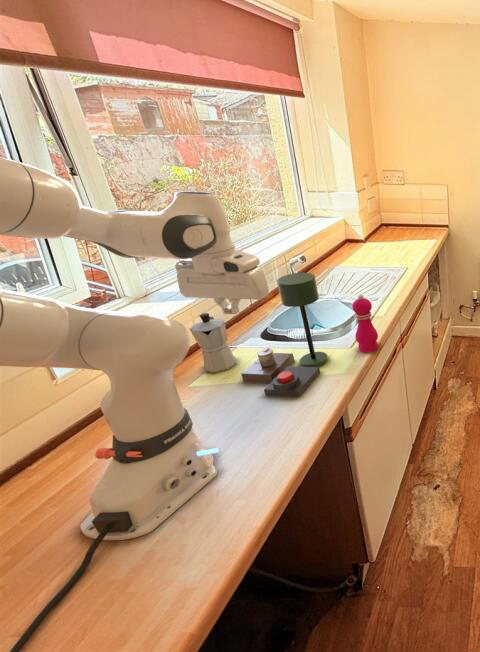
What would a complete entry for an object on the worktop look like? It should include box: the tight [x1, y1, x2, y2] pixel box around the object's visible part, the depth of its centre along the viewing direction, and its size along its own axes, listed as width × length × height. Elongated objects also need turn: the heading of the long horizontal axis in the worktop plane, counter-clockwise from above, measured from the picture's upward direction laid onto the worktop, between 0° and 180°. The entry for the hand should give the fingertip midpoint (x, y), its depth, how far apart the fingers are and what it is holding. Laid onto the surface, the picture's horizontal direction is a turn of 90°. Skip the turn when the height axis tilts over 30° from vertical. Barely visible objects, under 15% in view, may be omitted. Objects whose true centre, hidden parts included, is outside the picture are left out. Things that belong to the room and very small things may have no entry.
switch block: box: [263, 365, 321, 398], centre depth 117 cm, size 12×10×4 cm
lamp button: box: [278, 371, 293, 383], centre depth 113 cm, size 4×4×2 cm
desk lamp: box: [276, 272, 329, 368], centre depth 123 cm, size 10×10×29 cm
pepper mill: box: [351, 294, 379, 354], centre depth 134 cm, size 7×7×20 cm
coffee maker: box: [189, 312, 237, 374], centre depth 124 cm, size 15×9×18 cm, turn 34°
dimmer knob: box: [256, 347, 275, 366], centre depth 122 cm, size 4×4×4 cm
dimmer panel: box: [240, 352, 295, 384], centre depth 123 cm, size 12×9×3 cm
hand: (231, 313), depth 100 cm, fingers closed
